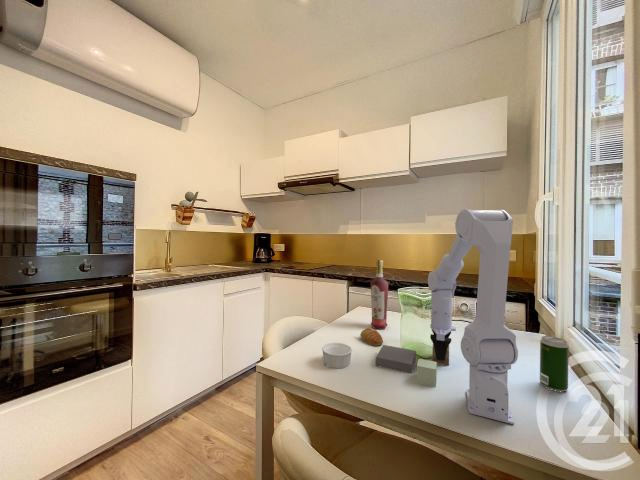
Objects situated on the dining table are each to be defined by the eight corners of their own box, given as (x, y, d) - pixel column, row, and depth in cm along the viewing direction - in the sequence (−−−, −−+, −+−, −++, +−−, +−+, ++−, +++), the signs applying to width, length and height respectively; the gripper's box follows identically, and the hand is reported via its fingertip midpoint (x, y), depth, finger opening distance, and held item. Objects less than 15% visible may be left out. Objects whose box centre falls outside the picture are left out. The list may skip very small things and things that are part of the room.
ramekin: (357, 362, 80) (357, 348, 80) (338, 373, 74) (339, 357, 74) (334, 353, 86) (335, 340, 86) (315, 362, 80) (315, 348, 80)
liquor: (391, 327, 112) (392, 260, 112) (382, 331, 107) (382, 261, 106) (376, 323, 117) (376, 259, 117) (366, 327, 112) (367, 260, 111)
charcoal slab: (411, 375, 74) (411, 364, 74) (375, 367, 78) (375, 357, 78) (415, 360, 83) (415, 350, 83) (383, 354, 87) (383, 344, 87)
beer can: (556, 394, 64) (557, 344, 64) (534, 382, 70) (534, 336, 70) (573, 391, 66) (574, 342, 65) (550, 380, 71) (551, 334, 71)
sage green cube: (435, 387, 67) (436, 369, 67) (416, 383, 69) (417, 365, 69) (436, 378, 71) (436, 362, 71) (418, 375, 73) (418, 358, 73)
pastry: (388, 345, 93) (388, 334, 93) (371, 348, 91) (371, 337, 91) (374, 336, 102) (374, 326, 102) (358, 338, 100) (358, 328, 100)
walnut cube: (449, 366, 79) (449, 350, 79) (432, 362, 80) (432, 347, 80) (448, 359, 83) (449, 345, 83) (433, 356, 85) (433, 342, 85)
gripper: (456, 319, 73) (456, 369, 73) (455, 307, 86) (455, 349, 86) (428, 316, 76) (428, 364, 76) (431, 305, 89) (431, 345, 89)
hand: (440, 356), depth 82 cm, fingers open, 5 cm apart
